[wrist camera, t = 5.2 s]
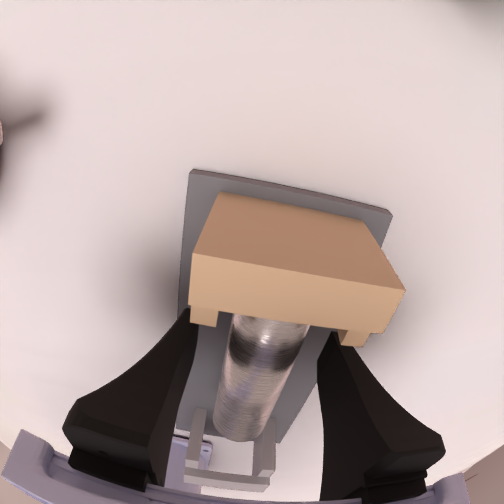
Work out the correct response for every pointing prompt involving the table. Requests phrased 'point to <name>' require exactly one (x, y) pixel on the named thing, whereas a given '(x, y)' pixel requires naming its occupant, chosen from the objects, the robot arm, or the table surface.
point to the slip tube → (254, 373)
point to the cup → (1, 134)
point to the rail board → (274, 293)
